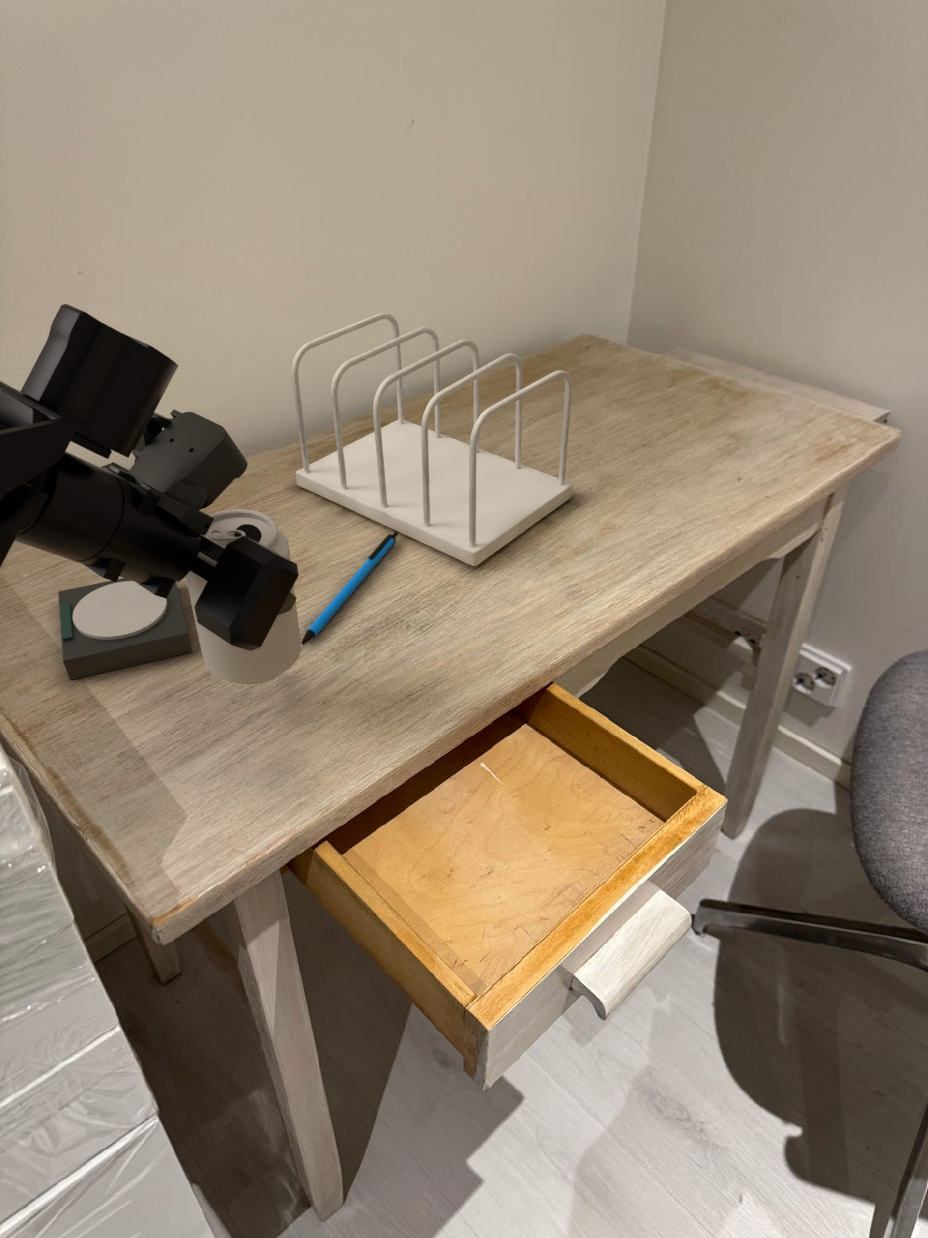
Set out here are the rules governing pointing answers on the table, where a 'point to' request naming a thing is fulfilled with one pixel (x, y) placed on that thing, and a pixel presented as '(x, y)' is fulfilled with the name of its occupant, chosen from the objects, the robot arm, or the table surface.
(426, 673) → the table surface
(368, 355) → the file sorter
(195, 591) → the can
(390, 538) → the pen
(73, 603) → the scale
